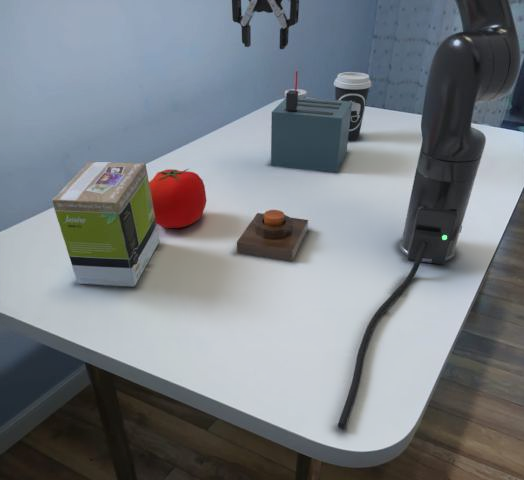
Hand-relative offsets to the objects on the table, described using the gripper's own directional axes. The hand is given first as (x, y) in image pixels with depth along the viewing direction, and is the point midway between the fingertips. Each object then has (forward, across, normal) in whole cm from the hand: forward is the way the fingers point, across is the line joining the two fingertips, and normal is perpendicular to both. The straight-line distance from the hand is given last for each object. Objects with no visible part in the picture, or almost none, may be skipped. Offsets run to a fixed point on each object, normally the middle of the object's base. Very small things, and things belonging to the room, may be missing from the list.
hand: (264, 47), depth 106 cm
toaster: (+24, +10, +4) cm, 27 cm away
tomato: (+24, -6, -37) cm, 44 cm away
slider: (+12, +6, 0) cm, 13 cm away
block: (+24, +14, -39) cm, 47 cm away
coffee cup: (+24, +16, +23) cm, 37 cm away
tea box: (+24, -9, -54) cm, 60 cm away
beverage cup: (+24, 0, +28) cm, 37 cm away
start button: (+20, +14, -39) cm, 46 cm away
